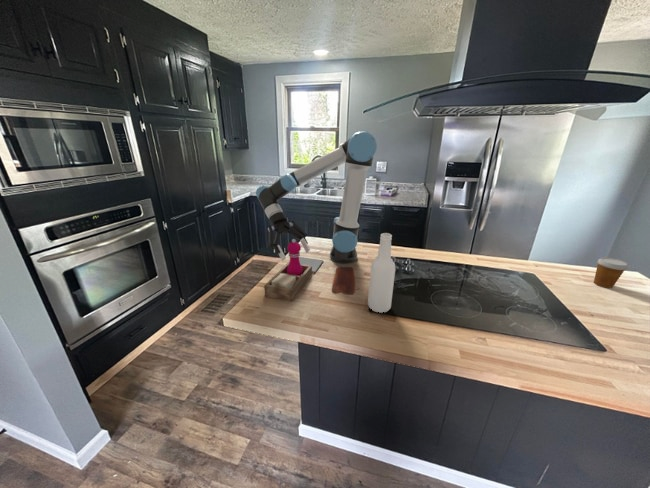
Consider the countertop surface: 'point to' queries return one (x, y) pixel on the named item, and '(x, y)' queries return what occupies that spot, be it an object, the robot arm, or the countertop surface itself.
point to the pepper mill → (294, 258)
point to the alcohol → (382, 277)
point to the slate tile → (311, 263)
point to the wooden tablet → (344, 281)
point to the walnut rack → (287, 292)
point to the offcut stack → (284, 281)
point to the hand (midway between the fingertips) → (296, 255)
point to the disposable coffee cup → (609, 272)
